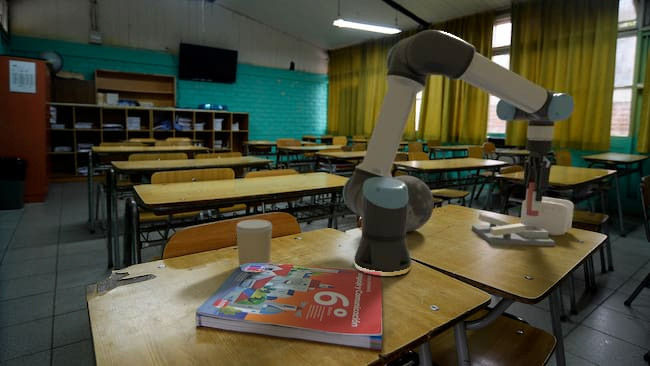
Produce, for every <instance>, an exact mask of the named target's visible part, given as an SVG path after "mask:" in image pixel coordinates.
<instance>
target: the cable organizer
mask: <svg viewBox="0 0 650 366" xmlns="http://www.w3.org/2000/svg"><path fill="white" fill-rule="evenodd" d="M525 202H526V199H525V200H523V201H522V204H521V213H520V222H519V223H521V224H523V225H536V226H538V227H540V228H542V229H544V230H546V231H548V232H549V233H548V235H550V236H561V235H564V234H566V232H567V231H568V230H570V229H572V223H573V216H574V215H573V214H574V208H575V204H574V203H573V202H572V201H571V200H568V199H561V198H554V197H547V196H542V203H541V211H539V214H538V216H529V215H526V212H527V208H525Z"/></svg>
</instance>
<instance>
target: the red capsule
mask: <svg viewBox="0 0 650 366" xmlns="http://www.w3.org/2000/svg"><path fill="white" fill-rule="evenodd" d="M533 190H535V182H529V191H528V202H527V212H526V215H529V216H538V214H539V211H532V210H531V208H532V198H533Z"/></svg>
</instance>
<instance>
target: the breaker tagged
mask: <svg viewBox="0 0 650 366" xmlns="http://www.w3.org/2000/svg"><path fill="white" fill-rule="evenodd" d="M490 231H491V234H493V235H494V236H497V235H504V234H511V233H518V232H526V231H525V225H523V224H521V223H520V222H518V223H513V224H509V225H504V226H498V225H497V227H490Z"/></svg>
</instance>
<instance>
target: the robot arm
mask: <svg viewBox="0 0 650 366" xmlns="http://www.w3.org/2000/svg"><path fill="white" fill-rule="evenodd" d="M386 68H387V72H386V75H385V81H386V82H387V85H388V86H387V88H386V92H385V95H384V97H383V101H382V104H381V107H380V110H379V113H378V116H377V119H376V121H375V125H374V128H373V130H372V134H371V137H370V139H369V142H368V146H367V148H366V151H365V154H364V158H363V161H362V162H361V163H360V164H358V165H355V168H354V171H353V174H352V176H351V177H349V178H348V180H346V182H344V183H345V184H344V186H343V188H342V189H343V190H342V198H343V201H344V203H345V205H346V206H347V207H348V209H349V210H350V212H352V213H354V214H355V215H357V216H359V217H360V218H361V238H360V241H359V243H358V247H357V249H356V252H355V255H354V260H353V261H355V263H356V264H357V265H358V266H360V267H362V268H366V269H369V270H375V271H382V272H394V271H400V270H404V269H407V268H409V267H410V265H411V266H412V258H411V255H410V251H409V248H408V245H407V244H408V243H407V239H406V238H407V232H406V224H407V207H408V188H407V186H406V184H405V183H403V182H402V181H400V180H397V179H393V178H394V177H393V175H392V173H391V170H392V168H393V165H394V161H395V160H396V159H395V158H396V155H397V153H398V150H399V147H400V145H401V142H402V138H403V135H404V132H405V129H406V127H407V124H408V121H409V118H410V115H411V111H412V109H413V107H414V103H415V101H416V97H417V94H419V93H421V92H422V91H424V90H425V88H426V84H427V81H428V79H429V76H441V77H444V78H447V79H450V80H452V81H457V80H461V81H462V82H465V83H467V84H469V85H470V86H473V87H476V88H477V89H479V90H481V91H484V92H485V93H487V94H489V95H491V96H493V97H495V98H497V99H499V101H498V102H497V104H496V111H495V113H496V116H497V118H498V119H499V120H500V121H506V122H528V123H527V133H526V138H527V140H526V143H525V145H526V146H525V150H526V151H527V152H529V154H528V157H527V156H525V157H524V158H523V163H524V167H523V168H524V169H523V180H522V181H523V182H522V183H523V184H522V185H523V186H525V189H526V192H525V193H526V194H525V200H526V202H525V208H527V202H528V191H529V182H535V190H533V198H532V208H531V210H532V211H541V203H542V197H543V193H544V192H545V191H546V192H547V191H548V188H549V182H550V177H551V170H552V169H551V168H552V165H553V161H552V160H549V159H548V153H550V152H552V150H553V145H554V143H553V140H552V139H554V132H555V122H559V121H565V120H567V119H569V118H570V117H571V116H572V114H573V112H574V109H575V100H574V99H573V97H572V96H571V95H570V94H567V93H561V92H556V91H554V90H548V89H546V88H544V87H542V86H540V85H537V84H536V83H534V82H532V81H531V80H528V79H527V78H525V77H523V76H521V75H520V74H517V73H515V72H514V71H512V70H510V69H508V68H506V67H505V66H503V65H501V64H499V63H497V62H495V61H494V60H491V59H489V58H487V57H486V56H484V55H482V54H480V53H478V52H476V47H475V46H474V45H472V44H471V43H469V42H467V41H465V40H463V39H461V38H459V37H457V36H455V35H453V34H451V33H447V32H446V31H445V32H444V31H442V30H436V29H426V30H423V31H420V32H417V33H416V34H414V35H411V36H409V37H406V38H403V39H401V40H399V41H398V42H397V43H395V44H394V45H393V46H392V48H391V49H390V50H389V52H388V54H387V57H386Z"/></svg>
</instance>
